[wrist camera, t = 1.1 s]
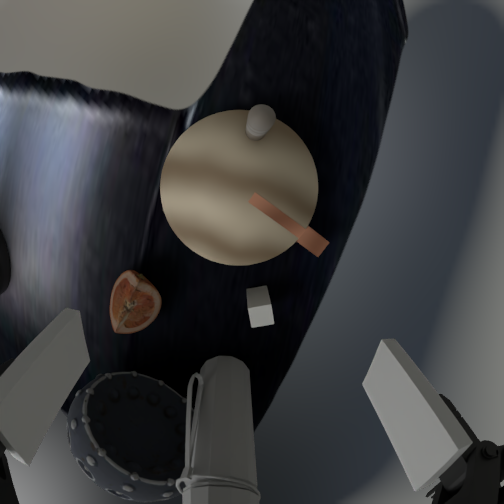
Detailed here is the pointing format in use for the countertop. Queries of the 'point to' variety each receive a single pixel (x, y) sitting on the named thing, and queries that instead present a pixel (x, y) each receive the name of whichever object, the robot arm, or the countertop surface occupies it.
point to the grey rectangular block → (259, 306)
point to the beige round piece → (241, 188)
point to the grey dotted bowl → (130, 435)
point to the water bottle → (220, 437)
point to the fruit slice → (133, 303)
